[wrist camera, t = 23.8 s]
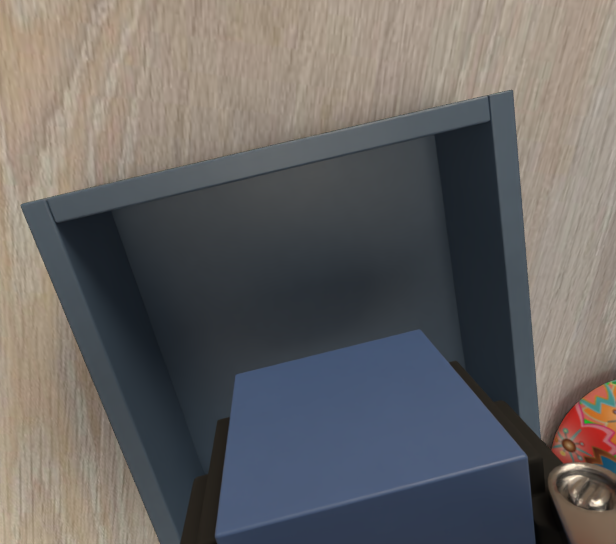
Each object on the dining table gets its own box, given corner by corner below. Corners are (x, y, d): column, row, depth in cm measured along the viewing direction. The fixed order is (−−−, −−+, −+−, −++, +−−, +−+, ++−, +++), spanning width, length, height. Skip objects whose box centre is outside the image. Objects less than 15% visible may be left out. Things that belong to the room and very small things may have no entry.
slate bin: (195, 482, 23) (175, 583, 18) (88, 187, 19) (18, 204, 13) (481, 408, 24) (545, 485, 18) (443, 105, 19) (513, 89, 14)
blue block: (279, 522, 13) (288, 743, 8) (234, 374, 11) (212, 536, 7) (444, 479, 13) (548, 672, 8) (420, 327, 12) (529, 455, 7)
